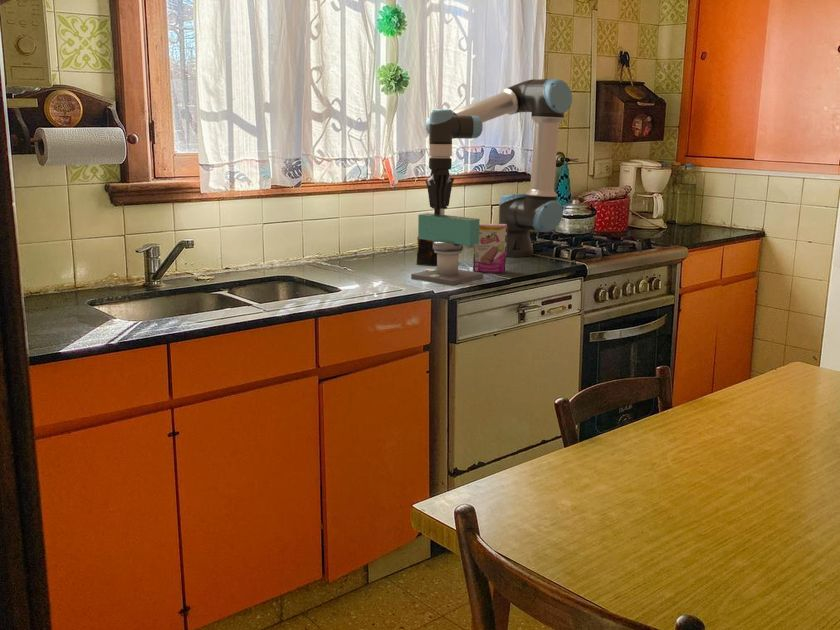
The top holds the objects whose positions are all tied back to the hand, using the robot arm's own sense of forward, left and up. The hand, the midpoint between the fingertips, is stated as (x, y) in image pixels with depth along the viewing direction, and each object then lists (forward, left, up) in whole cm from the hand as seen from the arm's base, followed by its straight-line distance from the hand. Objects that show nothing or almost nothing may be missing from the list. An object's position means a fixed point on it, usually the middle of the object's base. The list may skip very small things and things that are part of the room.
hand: (439, 228), depth 284 cm
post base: (+6, +9, -15) cm, 18 cm away
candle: (-12, -11, -15) cm, 23 cm away
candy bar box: (-12, +13, -15) cm, 23 cm away
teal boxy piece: (+6, +9, -5) cm, 12 cm away
